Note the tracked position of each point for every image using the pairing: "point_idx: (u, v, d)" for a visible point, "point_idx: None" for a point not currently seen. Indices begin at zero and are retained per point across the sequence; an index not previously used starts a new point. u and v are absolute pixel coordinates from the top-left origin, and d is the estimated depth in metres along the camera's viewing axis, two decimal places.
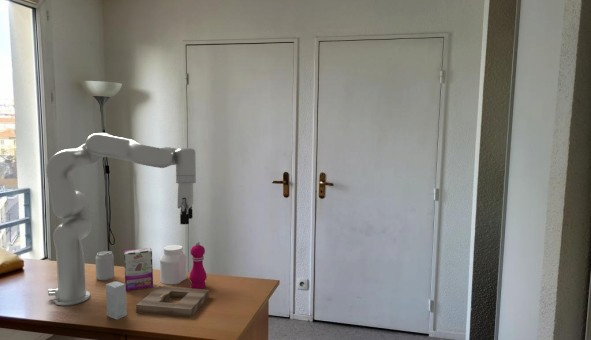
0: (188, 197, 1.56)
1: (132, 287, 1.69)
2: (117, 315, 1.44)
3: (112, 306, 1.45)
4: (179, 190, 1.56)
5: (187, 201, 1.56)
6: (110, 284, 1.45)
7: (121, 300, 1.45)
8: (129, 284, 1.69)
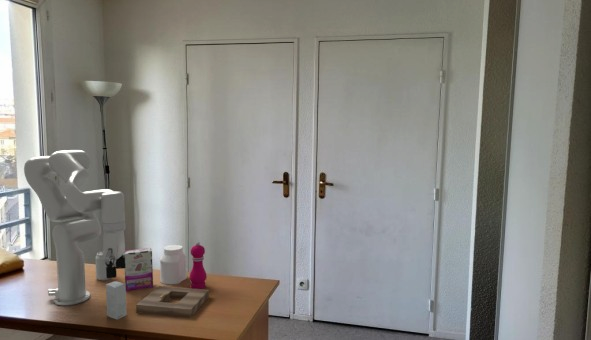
0: (115, 247, 1.39)
1: (132, 287, 1.69)
2: (117, 315, 1.44)
3: (112, 306, 1.45)
4: (104, 240, 1.39)
5: (113, 252, 1.39)
6: (110, 284, 1.45)
7: (121, 300, 1.45)
8: (129, 284, 1.69)
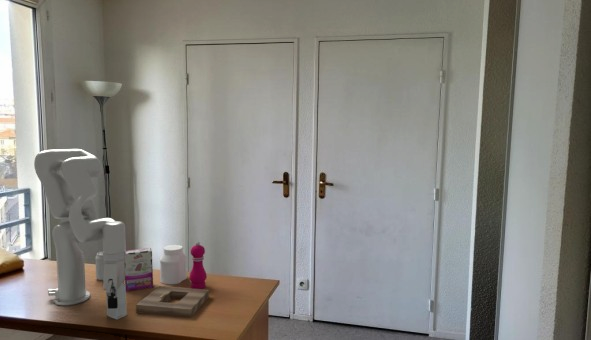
0: (115, 278, 1.41)
1: (132, 287, 1.69)
2: (117, 315, 1.44)
3: None
4: (105, 271, 1.40)
5: (114, 283, 1.41)
6: None
7: (121, 299, 1.45)
8: (129, 284, 1.69)
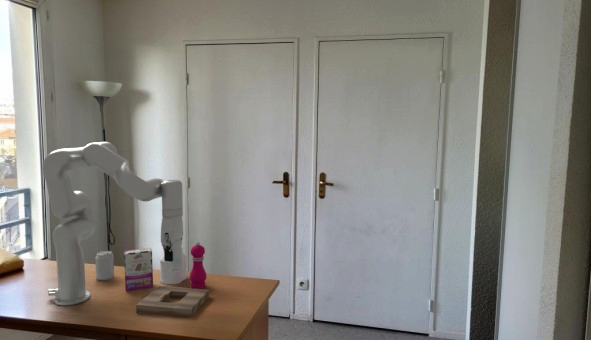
0: (171, 232, 1.49)
1: (132, 287, 1.69)
2: (172, 268, 1.52)
3: None
4: (162, 224, 1.49)
5: (169, 236, 1.49)
6: None
7: (176, 254, 1.53)
8: (129, 284, 1.69)
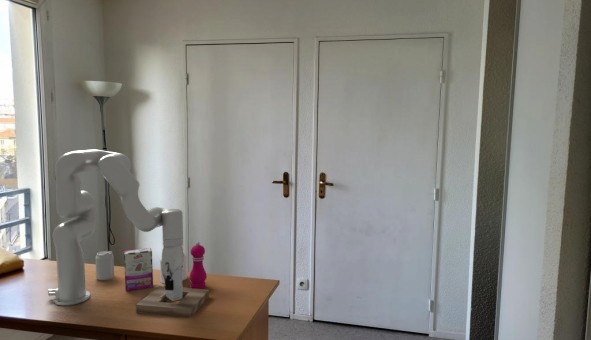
0: (171, 262, 1.50)
1: (132, 287, 1.69)
2: (173, 297, 1.53)
3: None
4: (163, 254, 1.50)
5: (170, 266, 1.50)
6: None
7: (177, 283, 1.54)
8: (129, 284, 1.69)
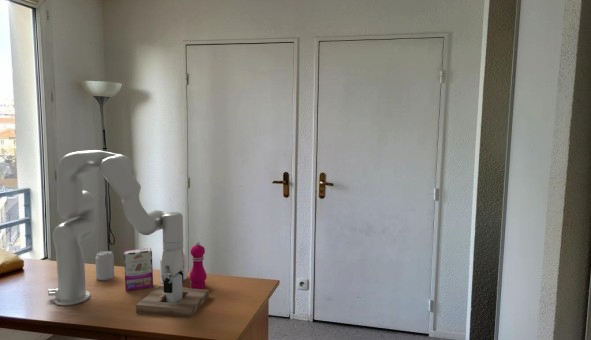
0: (171, 265, 1.50)
1: (132, 287, 1.69)
2: None
3: (169, 294, 1.55)
4: (163, 257, 1.51)
5: (170, 269, 1.50)
6: None
7: (177, 289, 1.55)
8: (129, 284, 1.69)
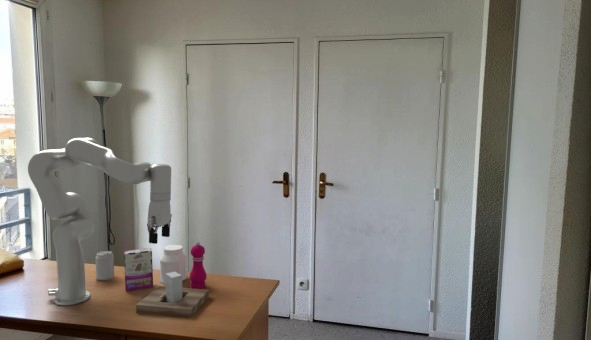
0: (157, 216, 1.50)
1: (132, 287, 1.69)
2: None
3: (169, 294, 1.55)
4: (149, 208, 1.51)
5: (156, 220, 1.50)
6: (169, 274, 1.56)
7: (177, 289, 1.55)
8: (129, 284, 1.69)
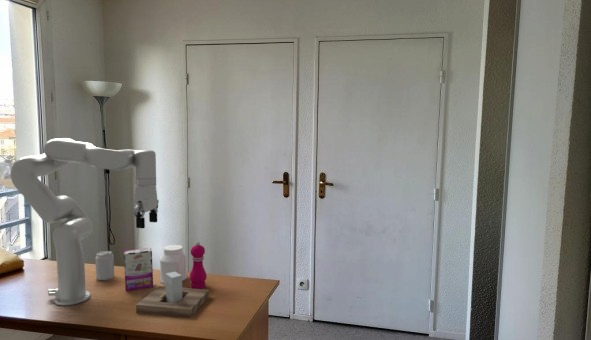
0: (143, 200, 1.52)
1: (132, 287, 1.69)
2: None
3: (169, 294, 1.55)
4: (135, 193, 1.53)
5: (142, 204, 1.53)
6: (169, 274, 1.56)
7: (177, 289, 1.55)
8: (129, 284, 1.69)
